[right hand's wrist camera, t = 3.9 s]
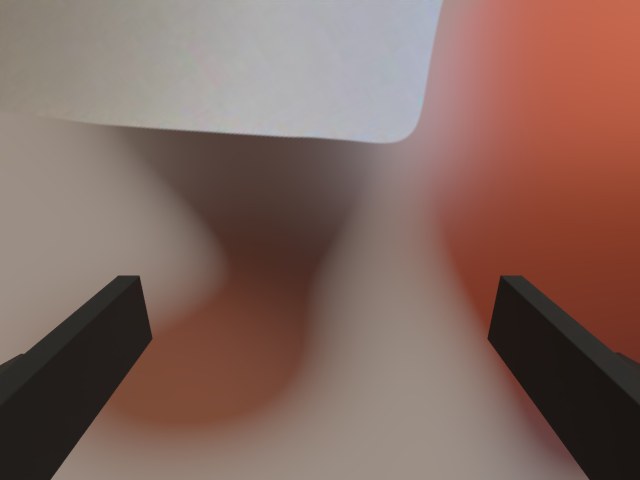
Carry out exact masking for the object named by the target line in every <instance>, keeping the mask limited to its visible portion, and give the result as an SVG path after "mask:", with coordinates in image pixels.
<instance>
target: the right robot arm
mask: <svg viewBox="0 0 640 480" xmlns="http://www.w3.org/2000/svg"><path fill="white" fill-rule="evenodd" d="M151 340H152V334H151V329H150V324H149V319H148V315H147V310H146V305H145V300H144V295H143V290H142V286H141V281H140V276H117V277H116V278H115V279H114V280H113V281H111V282H110V283H109V284H108V285H107V286H105V287H104V288H103V289H102V290H101V291H99V292H98V293H97V294H96V295H95V296H93V297H92V298H91V299H90V300H89V301H87V302H86V303H85V304H84V305H83V306H81V307H80V308H79V309H78V310H77V311H75V312H74V313H73V314H72V315H71V316H69V317H68V318H67V319H66V320H65V321H63V322H62V323H61V324H60V325H59V326H57V327H56V328H55V329H54V330H53V331H51V332H50V333H49V334H48V335H47V336H45V337H44V338H43V339H42V340H41V341H39V342H38V343H37V344H36V345H35V346H33V347H32V348H31V349H30V350H29V351H27V352H26V353H25V354H20V355H18V356H16V357H14V358H13V359H11V360H9V361H7V362H5V363H4V364H2V365H0V480H51V478H52V477H53V475H54V474H55V473H56V471H57V470H58V469H59V467H60V466H61V464H62V463H63V462H64V460H65V459H66V458H67V456H68V455H69V453H70V452H71V451H72V449H73V448H74V447H75V445H76V444H77V442H78V441H79V439H80V438H81V437H82V435H83V434H84V433H85V431H86V430H87V429H88V427H89V426H90V424H91V423H92V422H93V420H94V419H95V417H96V416H97V415H98V413H99V412H100V411H101V409H102V408H103V406H104V405H105V404H106V402H107V401H108V400H109V398H110V397H111V395H112V394H113V393H114V391H115V390H116V388H117V387H118V386H119V384H120V383H121V382H122V380H123V379H124V377H125V376H126V375H127V373H128V372H129V371H130V369H131V368H132V366H133V365H134V364H135V362H136V361H137V359H138V358H139V357H140V355H141V354H142V353H143V351H144V350H145V348H146V347H147V346H148V344H149V343H150V342H151ZM488 340H489V342H490V343H491V344H492V346H493V347H494V348H495V350H496V351H497V353H498V354H499V355H500V357H501V358H502V360H503V361H504V362H505V364H506V365H507V366H508V368H509V369H510V370H511V372H512V373H513V375H514V376H515V377H516V379H517V380H518V382H519V383H520V384H521V386H522V387H523V389H524V390H525V391H526V393H527V394H528V395H529V397H530V398H531V399H532V401H533V402H534V404H535V405H536V406H537V408H538V409H539V411H540V412H541V413H542V415H543V416H544V418H545V419H546V420H547V422H548V423H549V424H550V426H551V427H552V429H553V430H554V431H555V433H556V434H557V435H558V437H559V438H560V440H561V441H562V442H563V444H564V445H565V446H566V448H567V449H568V451H569V452H570V453H571V455H572V456H573V457H574V459H575V460H576V462H577V463H578V464H579V466H580V467H581V469H582V470H583V471H584V473H585V474H586V475H587V477H588V478H589V480H640V364H639V363H637V362H635V361H634V360H632V359H630V358H628V357H626V356H625V355H623V354H621V353H614V352H613V351H611V350H610V349H609V348H608V347H607V346H605V345H604V344H603V343H602V342H601V341H599V340H598V339H597V338H596V337H595V336H593V335H592V334H591V333H590V332H589V331H587V330H586V329H585V328H584V327H583V326H581V325H580V324H579V323H578V322H577V321H575V320H574V319H573V318H572V317H571V316H569V315H568V314H567V313H566V312H565V311H563V310H562V309H561V308H560V307H559V306H557V305H556V304H555V303H554V302H553V301H551V300H550V299H549V298H548V297H547V296H545V295H544V294H543V293H542V292H541V291H539V290H538V289H537V288H536V287H535V286H533V285H532V284H531V283H530V282H529V281H527V280H526V279H525V278H524V277H523V276H500V281H499V286H498V290H497V295H496V300H495V305H494V310H493V315H492V319H491V324H490V329H489V334H488Z"/></svg>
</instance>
